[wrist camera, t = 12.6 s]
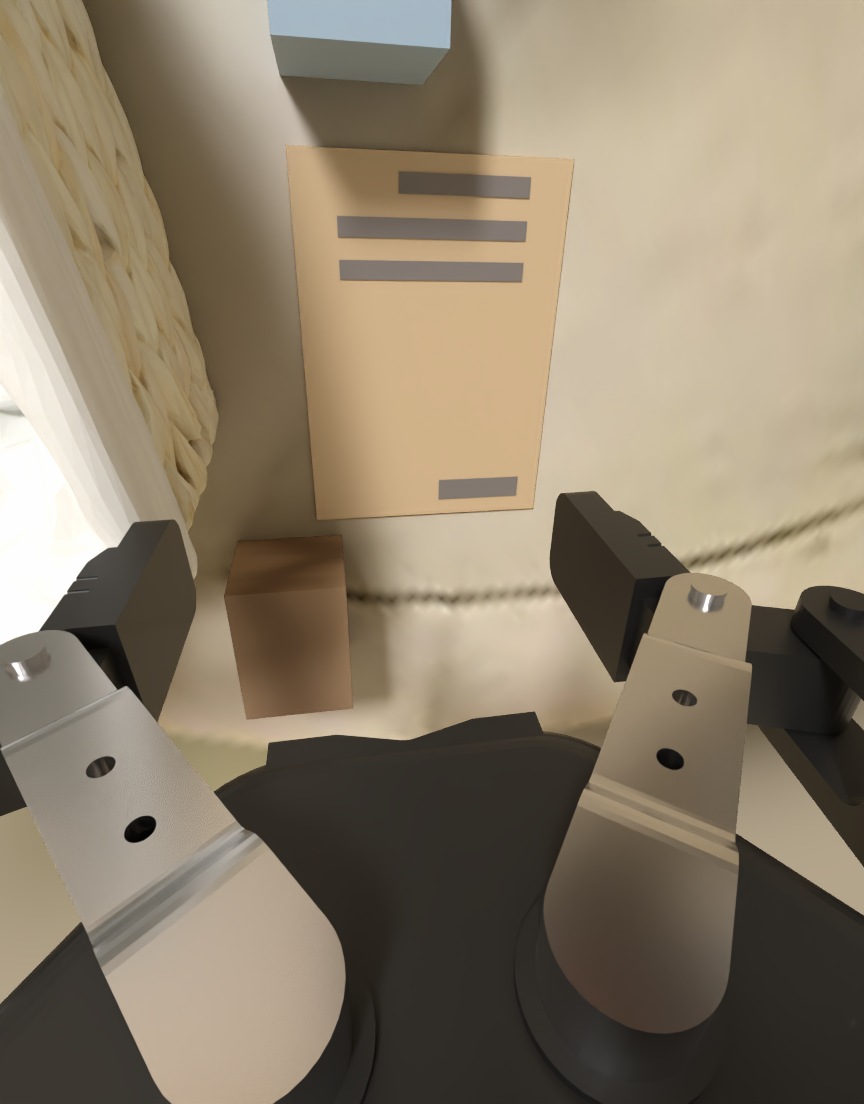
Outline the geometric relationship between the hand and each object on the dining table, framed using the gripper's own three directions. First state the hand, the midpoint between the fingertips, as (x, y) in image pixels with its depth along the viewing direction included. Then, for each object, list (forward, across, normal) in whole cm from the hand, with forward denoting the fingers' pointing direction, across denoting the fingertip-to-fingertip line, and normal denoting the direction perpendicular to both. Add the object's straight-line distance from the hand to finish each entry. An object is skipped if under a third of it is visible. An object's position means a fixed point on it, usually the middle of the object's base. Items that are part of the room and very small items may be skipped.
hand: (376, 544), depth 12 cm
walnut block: (+15, +4, +11) cm, 19 cm away
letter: (+15, -3, -1) cm, 15 cm away
